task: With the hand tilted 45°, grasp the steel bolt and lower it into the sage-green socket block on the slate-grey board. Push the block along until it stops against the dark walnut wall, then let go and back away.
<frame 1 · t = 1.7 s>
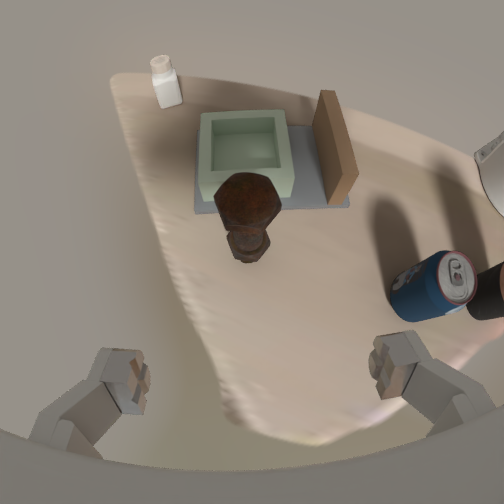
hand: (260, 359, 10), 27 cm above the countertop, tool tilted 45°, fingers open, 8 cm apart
travel mug: (479, 298, 38), on the countertop
bolt: (248, 253, 40), on the countertop
soda can: (407, 298, 38), on the countertop
socket block: (244, 153, 40), point 4 cm above the countertop, slide at 0.0 cm
pepper shaker: (171, 101, 48), on the countertop
backstop board: (245, 167, 43), on the countertop
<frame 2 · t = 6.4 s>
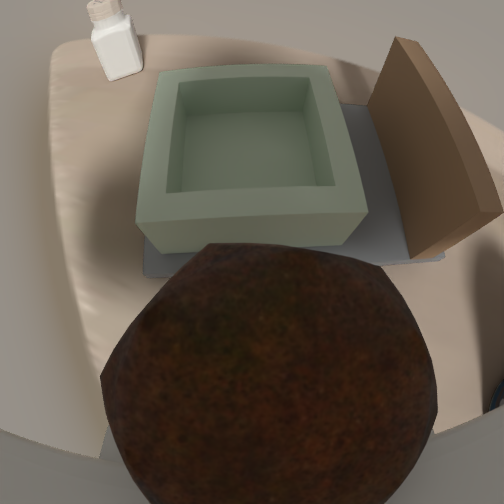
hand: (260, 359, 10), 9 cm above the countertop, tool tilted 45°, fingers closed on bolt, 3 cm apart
bolt: (255, 364, 18), on the countertop, touching gripper
socket block: (247, 149, 19), point 4 cm above the countertop, slide at 0.0 cm
pepper shaker: (126, 69, 27), on the countertop
backstop board: (247, 178, 22), on the countertop
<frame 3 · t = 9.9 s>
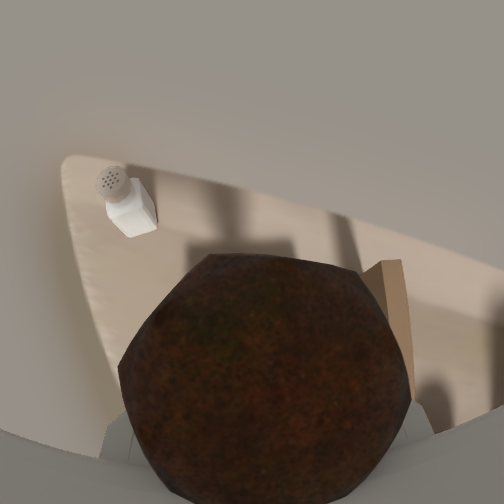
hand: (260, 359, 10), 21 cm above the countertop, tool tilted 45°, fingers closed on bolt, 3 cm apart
bolt: (258, 367, 19), point 11 cm above the countertop, touching gripper
pepper shaker: (141, 221, 35), on the countertop
backstop board: (253, 357, 30), on the countertop
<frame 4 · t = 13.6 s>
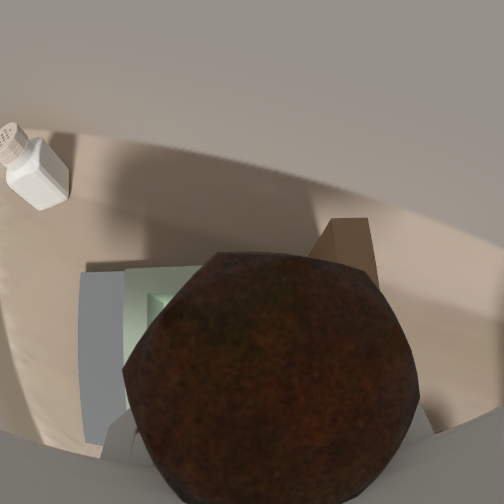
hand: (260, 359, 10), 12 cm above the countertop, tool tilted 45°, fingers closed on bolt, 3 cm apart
bolt: (252, 368, 19), point 2 cm above the countertop, touching gripper
socket block: (227, 366, 18), point 4 cm above the countertop, slide at 5.0 cm
pepper shaker: (56, 191, 26), on the countertop
backstop board: (164, 363, 21), on the countertop
when the fingers open (12 cm above the countertop, at t = 13.7 s): bolt stays where it is, resting on socket block.
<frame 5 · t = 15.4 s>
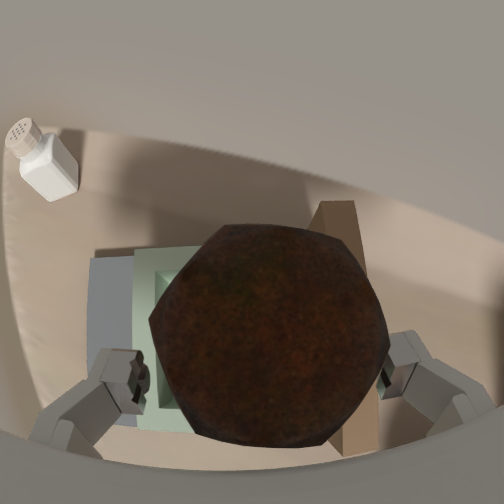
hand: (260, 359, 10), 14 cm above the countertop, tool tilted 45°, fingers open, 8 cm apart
bolt: (255, 343, 21), point 2 cm above the countertop, touching socket block
socket block: (228, 339, 20), point 4 cm above the countertop, slide at 5.0 cm, touching bolt
pepper shaker: (65, 184, 28), on the countertop
backstop board: (168, 342, 23), on the countertop
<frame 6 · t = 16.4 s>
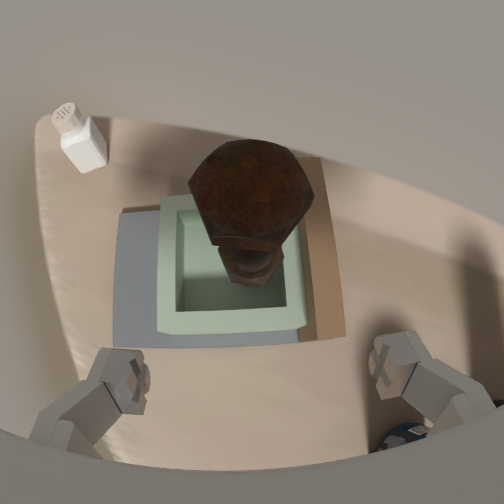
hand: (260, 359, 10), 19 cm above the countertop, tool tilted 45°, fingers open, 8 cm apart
bolt: (250, 270, 28), point 2 cm above the countertop, touching socket block
soda can: (397, 449, 24), on the countertop
socket block: (230, 264, 27), point 4 cm above the countertop, slide at 5.0 cm, touching bolt
pepper shaker: (95, 160, 35), on the countertop
backstop board: (182, 276, 30), on the countertop
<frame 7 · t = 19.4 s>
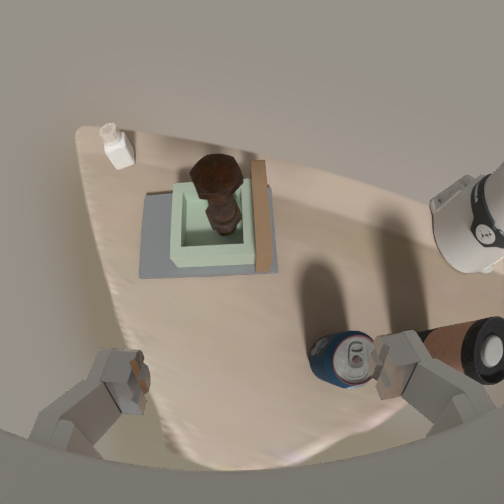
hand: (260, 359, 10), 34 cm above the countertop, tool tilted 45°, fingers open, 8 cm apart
travel mug: (412, 355, 42), on the countertop
bolt: (226, 227, 46), point 2 cm above the countertop, touching socket block
soda can: (330, 358, 43), on the countertop
socket block: (213, 223, 45), point 4 cm above the countertop, slide at 5.0 cm, touching bolt
pepper shaker: (125, 160, 53), on the countertop
backstop board: (184, 234, 48), on the countertop
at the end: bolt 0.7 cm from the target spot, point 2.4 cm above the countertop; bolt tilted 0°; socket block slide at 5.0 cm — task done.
